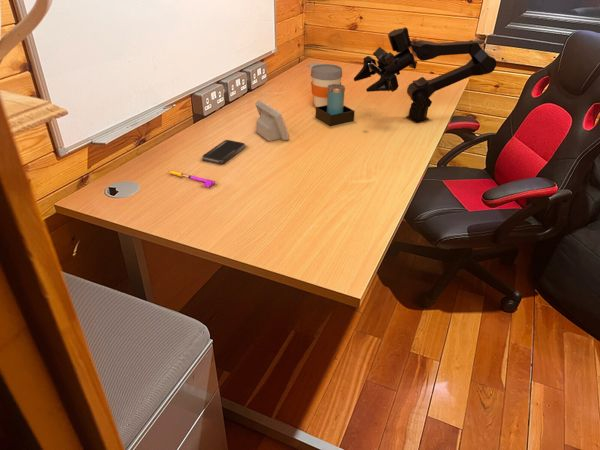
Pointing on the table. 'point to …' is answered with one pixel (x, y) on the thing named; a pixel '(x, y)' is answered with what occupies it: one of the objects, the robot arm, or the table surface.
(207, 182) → the multicoloured piece
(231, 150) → the phone
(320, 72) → the reusable coffee cup
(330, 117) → the tray
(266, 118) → the digital clock
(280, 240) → the table surface
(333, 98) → the tin
